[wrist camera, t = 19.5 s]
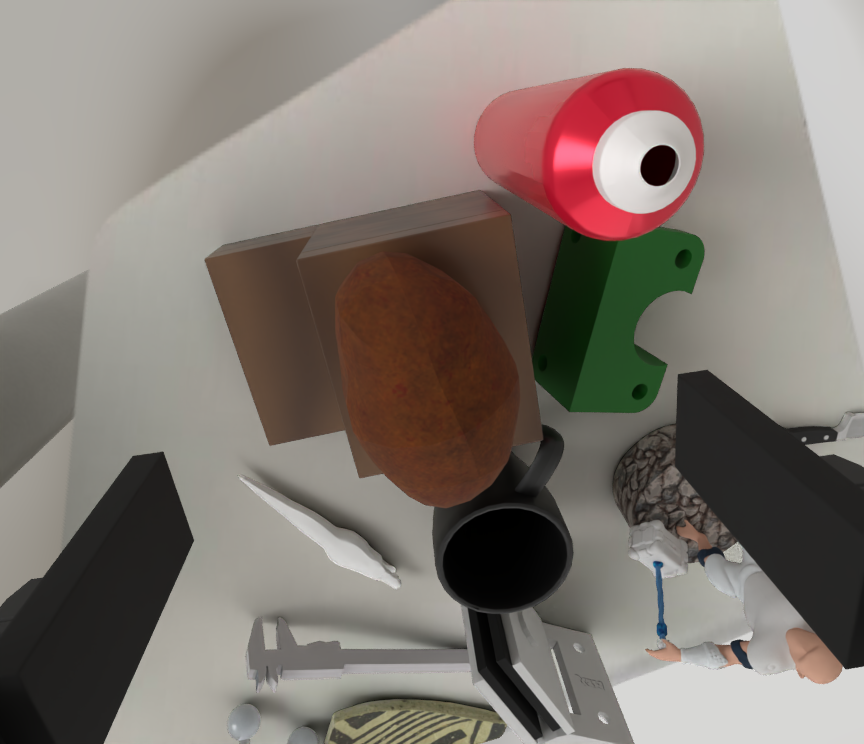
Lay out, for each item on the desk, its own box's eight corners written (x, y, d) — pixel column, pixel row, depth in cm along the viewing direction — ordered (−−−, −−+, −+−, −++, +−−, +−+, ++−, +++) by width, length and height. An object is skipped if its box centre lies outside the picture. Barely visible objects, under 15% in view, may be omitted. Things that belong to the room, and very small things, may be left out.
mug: (581, 400, 43) (630, 473, 34) (509, 533, 47) (537, 629, 38) (474, 361, 41) (498, 427, 32) (409, 503, 45) (414, 595, 36)
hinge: (594, 635, 51) (639, 750, 42) (546, 670, 52) (579, 789, 43) (483, 544, 47) (506, 651, 38) (433, 585, 48) (444, 698, 39)
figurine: (710, 371, 43) (916, 533, 26) (782, 440, 45) (1011, 627, 29) (561, 508, 46) (659, 727, 30) (636, 565, 49) (763, 795, 32)
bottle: (509, 207, 37) (629, 295, 19) (455, 133, 35) (528, 150, 17) (583, 148, 36) (784, 179, 18) (530, 68, 34) (695, 12, 16)
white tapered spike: (411, 564, 47) (412, 581, 46) (388, 585, 48) (388, 602, 46) (251, 455, 43) (245, 469, 41) (229, 480, 43) (222, 495, 42)
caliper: (254, 623, 48) (236, 691, 43) (256, 612, 48) (238, 680, 42) (496, 660, 52) (510, 728, 46) (500, 650, 51) (514, 718, 46)
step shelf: (279, 417, 42) (249, 502, 33) (222, 245, 37) (167, 287, 28) (509, 369, 41) (543, 440, 32) (480, 189, 37) (511, 213, 28)
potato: (447, 219, 28) (504, 232, 21) (517, 429, 32) (585, 503, 25) (292, 279, 27) (293, 315, 20) (383, 487, 32) (411, 580, 24)
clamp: (584, 333, 45) (636, 430, 40) (513, 328, 43) (557, 430, 38) (672, 191, 37) (754, 287, 31) (589, 177, 35) (660, 276, 29)
